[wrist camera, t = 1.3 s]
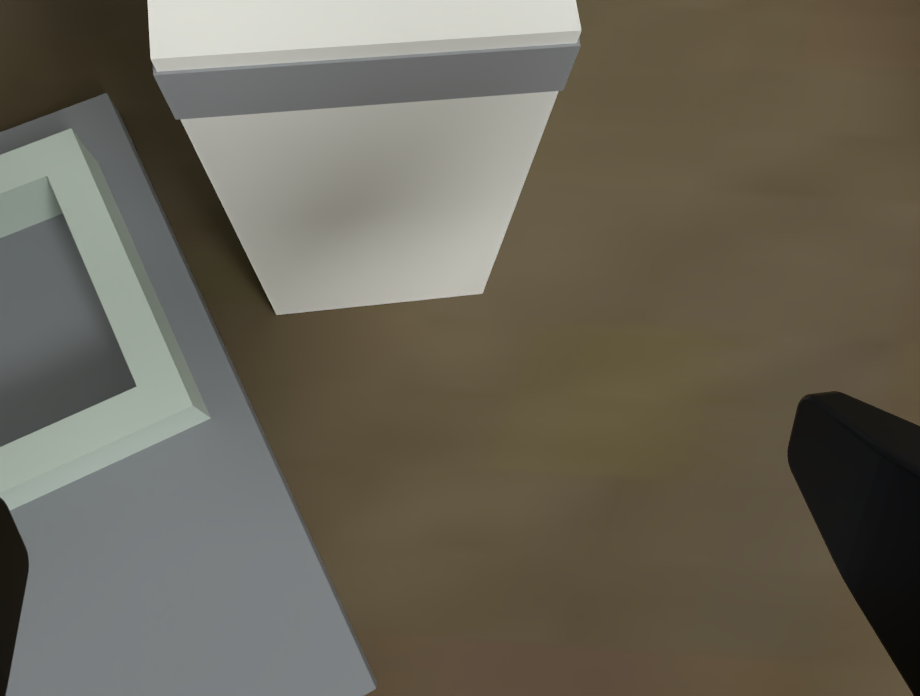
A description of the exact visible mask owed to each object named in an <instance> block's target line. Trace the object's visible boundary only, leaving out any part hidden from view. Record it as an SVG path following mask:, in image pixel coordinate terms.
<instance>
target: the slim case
mask: <svg viewBox="0 0 920 696" xmlns="http://www.w3.org/2000/svg"><path fill="white" fill-rule="evenodd" d="M147 2H148V21H149V39H150V58H151V61H152V63H153V76H154V78H155V80H156V82H157V84H158V86H159V88H160V90H161V92H162V94H163V96H164V98H165V100H166V102H167V104H168V106H169V108H170V110H171V112H172V114H173V116H174V118H175V120H179V119H180V120H181V122H182V124H183V126H184V128H185V130H186V132H187V134H188V136H189V138H190V140H191V142H192V144H193V146H194V149H195V151H196V153H197V155H198V157H199V159H200V161H201V163H202V165H203V167H204V169H205V171H206V173H207V175H208V177H209V179H210V181H211V183H212V185H213V187H214V189H215V191H216V193H217V195H218V197H219V199H220V201H221V203H222V205H223V208H224V210H225V212H226V214H227V216H228V218H229V220H230V222H231V224H232V226H233V228H234V230H235V232H236V234H237V236H238V238H239V240H240V242H241V244H242V246H243V248H244V250H245V252H246V254H247V256H248V258H249V260H250V262H251V265H252V267H253V269H254V271H255V273H256V275H257V277H258V279H259V281H260V283H261V285H262V287H263V289H264V291H265V293H266V295H267V297H268V299H269V301H270V303H271V305H272V307H273V309H274V311H275V313H276V315H282V314H292V313H301V312H311V311H321V310H330V309H340V308H349V307H359V306H369V305H378V304H388V303H397V302H407V301H416V300H426V299H436V298H445V297H455V296H464V295H474V294H482V293H483V291H484V288H485V285H486V283H487V280H488V278H489V275H490V272H491V270H492V267H493V264H494V262H495V259H496V256H497V254H498V251H499V248H500V246H501V243H502V240H503V238H504V235H505V232H506V230H507V227H508V224H509V222H510V219H511V216H512V214H513V211H514V208H515V206H516V203H517V200H518V198H519V195H520V192H521V190H522V187H523V184H524V182H525V179H526V176H527V174H528V171H529V169H530V166H531V163H532V161H533V158H534V155H535V153H536V150H537V147H538V145H539V142H540V139H541V137H542V134H543V131H544V129H545V126H546V123H547V121H548V118H549V115H550V113H551V110H552V107H553V105H554V102H555V99H556V97H557V94H558V91H563V90H564V87H565V85H566V82H567V80H568V77H569V74H570V72H571V69H572V67H573V64H574V61H575V59H576V56H577V54H578V51H579V49H580V40H579V36H580V33H581V26H580V20H579V15H578V10H577V5H576V0H147Z"/></svg>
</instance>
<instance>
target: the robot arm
mask: <svg viewBox="0 0 920 696" xmlns="http://www.w3.org/2000/svg"><path fill="white" fill-rule="evenodd" d="M788 463H789V466H790V469H791V472H792V474H793V476H794V478H795V480H796V482H797V484H798V486H799V489H800V491H801V493H802V495H803V497H804V499H805V501H806V503H807V505H808V508H809V510H810V512H811V514H812V516H813V518H814V520H815V522H816V524H817V527H818V529H819V531H820V533H821V535H822V537H823V539H824V541H825V544H826V546H827V548H828V550H829V552H830V554H831V556H832V558H833V560H834V562H835V564H836V566H837V568H838V570H839V572H840V574H841V576H842V578H843V580H844V581H845V583H846V585H847V586H848V588H849V590H850V592H851V593H852V595H853V597H854V598H855V600H856V602H857V603H858V605H859V607H860V608H861V610H862V612H863V613H864V615H865V616H866V618H867V620H868V621H869V623H870V625H871V626H872V628H873V630H874V631H875V633H876V635H877V636H878V638H879V639H880V641H881V643H882V644H883V646H884V648H885V649H886V651H887V653H888V654H889V656H890V657H891V659H892V661H893V662H894V664H895V666H896V667H897V669H898V671H899V672H900V674H901V675H902V677H903V679H904V680H905V682H906V684H907V685H908V687H909V689H910V690H911V692H912V693H913V695H914V696H920V426H918V425H916V424H913V423H911V422H909V421H907V420H904V419H902V418H900V417H897V416H895V415H893V414H890V413H888V412H886V411H883V410H881V409H879V408H876V407H874V406H872V405H869V404H867V403H865V402H862V401H860V400H858V399H855V398H853V397H851V396H848V395H846V394H844V393H841V392H837V391H831V392H823V393H815V394H808V395H806V396H804V397H803V398H802V399H801V400H800V402H799V404H798V407H797V411H796V415H795V419H794V424H793V428H792V432H791V436H790V441H789V445H788ZM28 573H29V557H28V552H27V549H26V546H25V544H24V542H23V540H22V537H21V535H20V533H19V531H18V528H17V526H16V524H15V522H14V519H13V517H12V515H11V512H10V510H9V508H8V506H7V504H6V503H5V501H4V500H3V499H2V498H0V696H6V692H7V687H8V682H9V677H10V671H11V666H12V660H13V655H14V649H15V644H16V639H17V633H18V628H19V622H20V617H21V611H22V606H23V600H24V595H25V589H26V584H27V579H28Z"/></svg>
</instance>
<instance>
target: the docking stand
mask: <svg viewBox="0 0 920 696" xmlns="http://www.w3.org/2000/svg"><path fill="white" fill-rule="evenodd" d="M0 498H2V499H3V500H4V501H5V503H6V504H7V506H8V508H9V510H10V512H11V515H12V517H13V519H14V522H15V524H16V526H17V528H18V531H19V533H20V535H21V537H22V540H23V542H24V544H25V546H26V549H27V552H28V557H29V573H28V579H27V584H26V589H25V595H24V600H23V606H22V611H21V617H20V622H19V628H18V633H17V639H16V644H15V649H14V655H13V660H12V666H11V671H10V677H9V682H8V687H7V692H6V696H364V695H366V694H367V693H369V692H371V691H373V690H375V689H376V686H377V681H376V679H375V677H374V675H373V672H372V670H371V668H370V666H369V663H368V661H367V659H366V657H365V655H364V652H363V650H362V648H361V646H360V644H359V641H358V639H357V637H356V635H355V633H354V630H353V628H352V626H351V624H350V622H349V619H348V617H347V615H346V613H345V610H344V608H343V606H342V604H341V602H340V599H339V597H338V595H337V593H336V591H335V588H334V586H333V584H332V582H331V580H330V577H329V575H328V573H327V571H326V569H325V566H324V564H323V562H322V560H321V557H320V555H319V553H318V551H317V549H316V546H315V544H314V542H313V540H312V538H311V535H310V533H309V531H308V529H307V527H306V524H305V522H304V520H303V518H302V516H301V513H300V511H299V509H298V507H297V504H296V502H295V500H294V498H293V496H292V493H291V491H290V489H289V487H288V485H287V482H286V480H285V478H284V476H283V474H282V471H281V469H280V467H279V465H278V463H277V460H276V458H275V456H274V454H273V451H272V449H271V447H270V445H269V443H268V440H267V438H266V436H265V434H264V432H263V429H262V427H261V425H260V423H259V421H258V418H257V416H256V414H255V412H254V410H253V407H252V405H251V403H250V401H249V398H248V396H247V394H246V392H245V390H244V387H243V385H242V383H241V381H240V379H239V376H238V374H237V372H236V370H235V368H234V365H233V363H232V361H231V359H230V357H229V354H228V352H227V350H226V348H225V345H224V343H223V341H222V339H221V337H220V334H219V332H218V330H217V328H216V326H215V323H214V321H213V319H212V317H211V315H210V312H209V310H208V308H207V306H206V304H205V301H204V299H203V297H202V295H201V292H200V290H199V288H198V286H197V284H196V281H195V279H194V277H193V275H192V273H191V270H190V268H189V266H188V264H187V262H186V259H185V257H184V255H183V253H182V251H181V248H180V246H179V244H178V242H177V239H176V237H175V235H174V233H173V231H172V228H171V226H170V224H169V222H168V220H167V217H166V215H165V213H164V211H163V209H162V206H161V204H160V202H159V200H158V198H157V195H156V193H155V191H154V189H153V186H152V184H151V182H150V180H149V178H148V175H147V173H146V171H145V169H144V167H143V164H142V162H141V160H140V158H139V156H138V153H137V151H136V149H135V147H134V145H133V142H132V140H131V138H130V136H129V133H128V131H127V129H126V127H125V125H124V122H123V120H122V118H121V116H120V114H119V111H118V110H117V108H116V106H115V105H114V103H113V102H112V100H111V98H110V97H109V95H108V94H107V93H105V94H102V95H99V96H97V97H94V98H91V99H88V100H86V101H83V102H80V103H78V104H75V105H72V106H70V107H67V108H64V109H62V110H59V111H56V112H53V113H51V114H48V115H45V116H43V117H40V118H37V119H35V120H32V121H29V122H27V123H24V124H21V125H19V126H16V127H13V128H10V129H8V130H5V131H2V132H0Z"/></svg>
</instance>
